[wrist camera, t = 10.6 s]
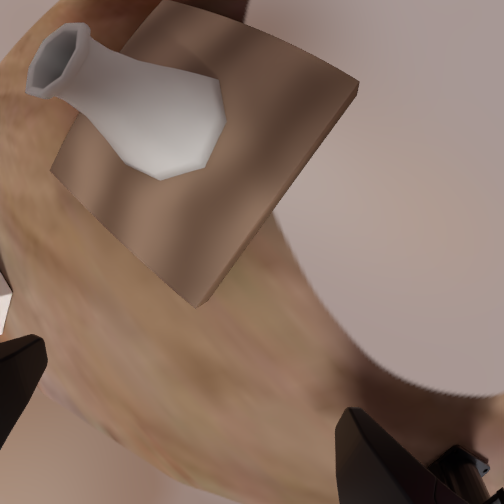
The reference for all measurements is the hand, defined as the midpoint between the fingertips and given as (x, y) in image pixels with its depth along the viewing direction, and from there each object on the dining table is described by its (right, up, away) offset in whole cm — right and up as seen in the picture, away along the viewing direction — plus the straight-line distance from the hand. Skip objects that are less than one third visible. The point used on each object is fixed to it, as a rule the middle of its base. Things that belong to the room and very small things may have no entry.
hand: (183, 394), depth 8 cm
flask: (-3, +12, +10) cm, 16 cm away
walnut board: (-3, +12, +12) cm, 17 cm away
